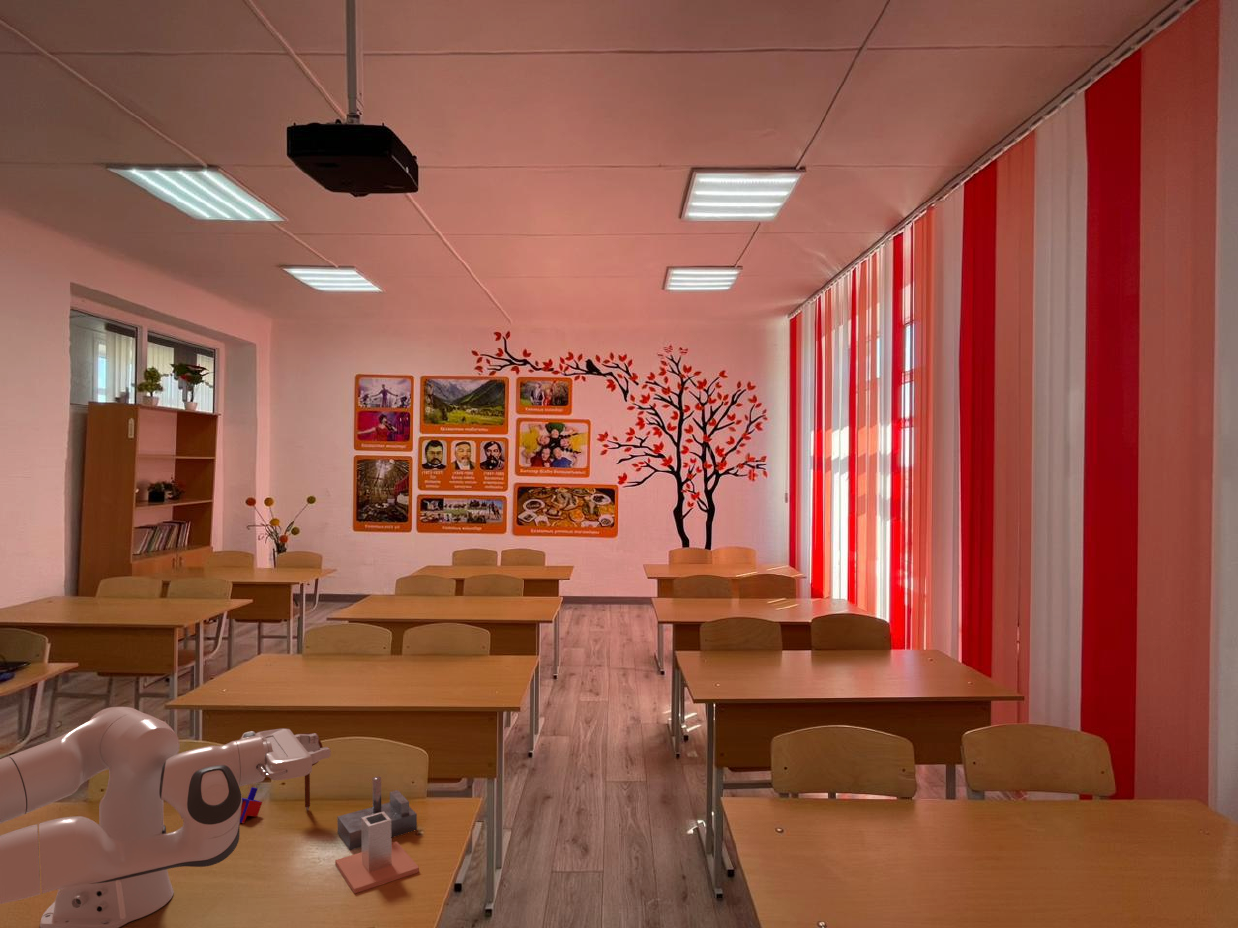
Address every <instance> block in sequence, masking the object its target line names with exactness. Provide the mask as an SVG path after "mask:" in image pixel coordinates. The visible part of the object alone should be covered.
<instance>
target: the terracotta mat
mask: <svg viewBox="0 0 1238 928" xmlns="http://www.w3.org/2000/svg"><path fill="white" fill-rule="evenodd" d="M334 863H335V866H336V868H337V869H338V871H339V873H340V875H341V876H342V877H343V879H344V880H345V882H346V883H347V885H348V887H349V888H350V890H351V891H352V893H353V895H354V894H358V893H360V892H361V893H362V892H363V891H367V890H370V889H373V888H376V887H378V886H382V885H384V884H388V883H390V882H394V881H396V880H399V879H403V878H405V877H409V876H411V875H415V874H418V873H419V872H420V867H419V866H418V864H417V863H416V862H415V861H414V859H412V857H411V856H410V855H409V854H408V853H407V851H406V850H405V849H404V848H403V847H402V846H401V844H400V843H399V842H398V841H392V865H390V866H387V867H384V868H381V869H378V870H375V871H372V872H368V870H367V869H366V868H365V866H364V865H363V863H362V851H361V852H358V853H354V854H351V855H348V856H346V857H341V858H338V859H335V860H334Z"/></svg>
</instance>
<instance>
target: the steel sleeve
mask: <svg viewBox="0 0 1238 928" xmlns="http://www.w3.org/2000/svg"><path fill="white" fill-rule="evenodd" d="M361 834H362V847H361V852H362V863H363V865H364V866H365V868H366V869H367V870H368V872H372V871H375V870H378V869H381V868H384V867H387V866H390V865H392V843H393V841H392V838H391V819H390V818H389V817H388V816H387V815H386V813H385V812H384V811H383V812H380V813H376V814H373V815H369V816H365V817H362V818H361Z"/></svg>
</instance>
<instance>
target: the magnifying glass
mask: <svg viewBox="0 0 1238 928" xmlns="http://www.w3.org/2000/svg"><path fill="white" fill-rule="evenodd" d="M301 734H308V735H309V734H312V733H310V732H303V733H301ZM318 740H319V741H318V743H316V744H312V745H310V744H303V747H304V748H305V749H306V750H307V752H312V751H313V752H315V751H318V750H320V748H324V747H323V743H322V741H321V740H320V738H319V737H318ZM319 762H320V761H318V762H316V763H315V764H312V767H313V766H314V765H317V764H318V763H319ZM310 778H311V773H309V774H308V775H306V776H304V808H305V809H306V811H309V810H310V806H311V786H310V785H311V784H310V783H311V781H310V780H311V779H310Z"/></svg>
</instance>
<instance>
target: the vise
mask: <svg viewBox="0 0 1238 928" xmlns="http://www.w3.org/2000/svg"><path fill="white" fill-rule="evenodd" d="M383 811H384V812H385V813H386V815H387V816H388V817H389V818H390V819H391V837H392V838H395V837H394V836H396V837H398V835H399V836H402V835H405V833H406V834H408V832H409V833H412V832H415V831H414V830H416V831H417V830H418V827H417V826H418V824H417V823H418V821H417V819H418V818H417V817H418V815H417V813H416V811H414V809H412V807H411V806H410V801H409V800H408V799H407V798H406V797H405V796H404V795H403V794H402V793H401V792H400V790H397V789H396V790H392V791H389V802H386V803H382V777H381V776H375V777H372V807H368V808H364V809H360V810H357V811H353V812H349V813H346V814H342V815H338V816H337V834H338V836H339V838H340V839H342V842H343V843H344V844H345V846H346V847H347V849H348V850H349V851H353V850H355V849H359V848H362V834H361V818H362V817H365V816H369V815H373V814H376V813H380V812H383ZM411 831H412V832H411ZM401 834H402V835H401Z"/></svg>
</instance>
